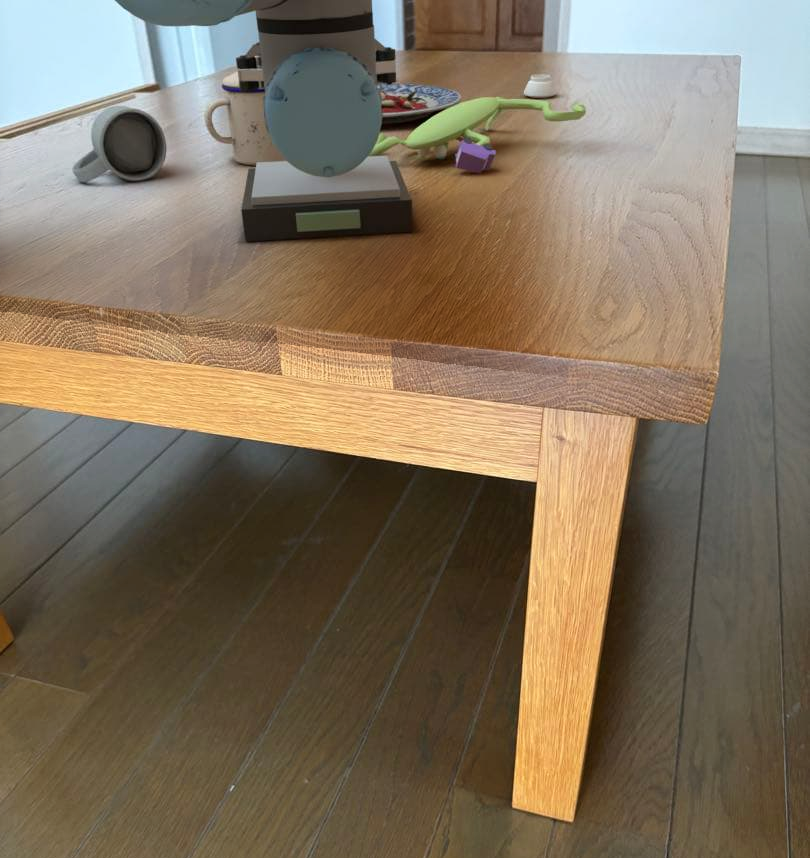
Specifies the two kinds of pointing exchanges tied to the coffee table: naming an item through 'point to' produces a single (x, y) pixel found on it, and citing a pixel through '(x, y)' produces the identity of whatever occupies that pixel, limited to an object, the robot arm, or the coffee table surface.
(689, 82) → the coffee table surface
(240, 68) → the robot arm
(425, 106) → the ceramic plate
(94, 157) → the ceramic mug
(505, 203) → the coffee table surface
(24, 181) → the coffee table surface
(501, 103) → the figurine
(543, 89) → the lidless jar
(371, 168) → the kitchen scale
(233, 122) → the teacup with lid
